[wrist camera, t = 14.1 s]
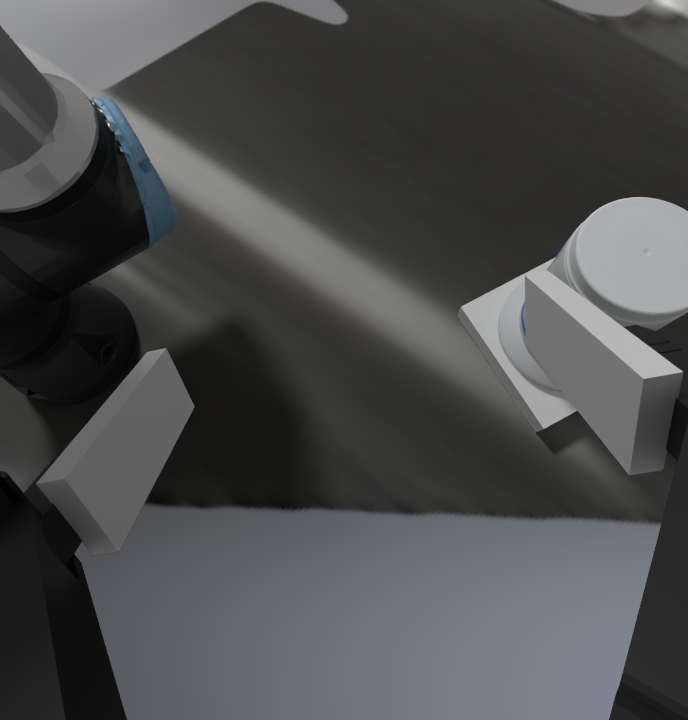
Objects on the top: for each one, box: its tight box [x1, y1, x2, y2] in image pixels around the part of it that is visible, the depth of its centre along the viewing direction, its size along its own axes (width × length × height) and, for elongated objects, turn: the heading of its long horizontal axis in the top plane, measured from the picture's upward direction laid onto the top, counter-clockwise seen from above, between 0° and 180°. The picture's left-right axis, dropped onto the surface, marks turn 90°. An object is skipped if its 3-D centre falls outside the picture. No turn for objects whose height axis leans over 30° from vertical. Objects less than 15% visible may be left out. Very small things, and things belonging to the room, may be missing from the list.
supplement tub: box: [519, 197, 688, 342], centre depth 36 cm, size 10×10×15 cm
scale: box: [458, 257, 579, 432], centre depth 45 cm, size 15×15×4 cm
